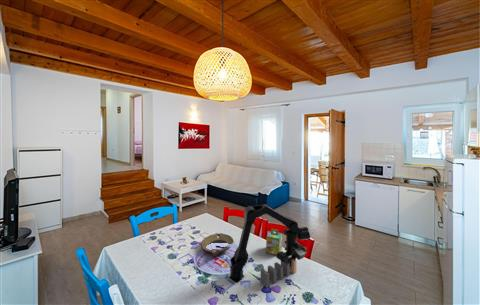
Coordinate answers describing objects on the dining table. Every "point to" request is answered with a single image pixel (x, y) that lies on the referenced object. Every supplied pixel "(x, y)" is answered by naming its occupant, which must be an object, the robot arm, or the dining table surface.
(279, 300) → the dining table surface
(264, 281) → the domino
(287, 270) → the domino
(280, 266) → the domino
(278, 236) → the chalk box
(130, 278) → the dining table surface
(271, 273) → the domino
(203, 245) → the olive oval ring
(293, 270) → the tan rectangular block
